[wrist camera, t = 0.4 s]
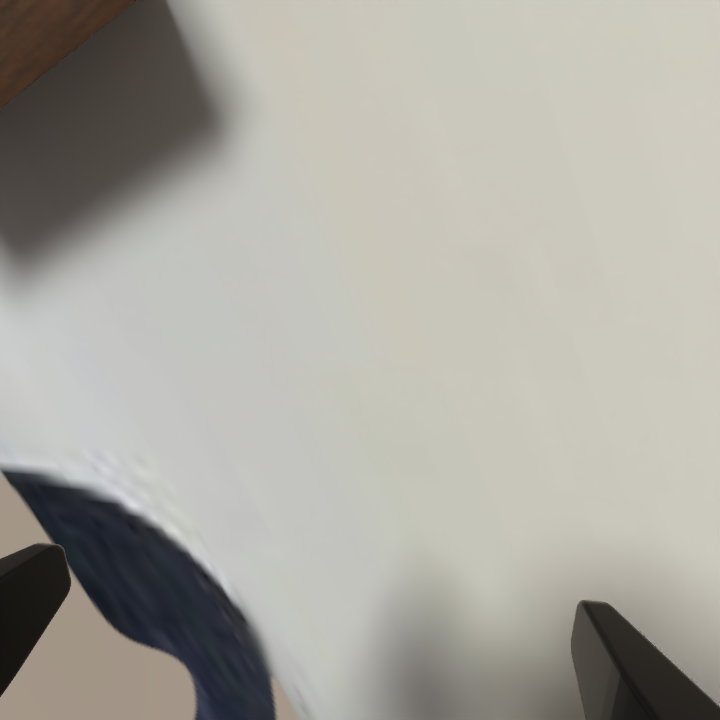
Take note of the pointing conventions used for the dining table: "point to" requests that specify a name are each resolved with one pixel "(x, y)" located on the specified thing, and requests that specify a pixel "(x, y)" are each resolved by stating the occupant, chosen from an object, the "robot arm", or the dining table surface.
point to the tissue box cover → (45, 36)
